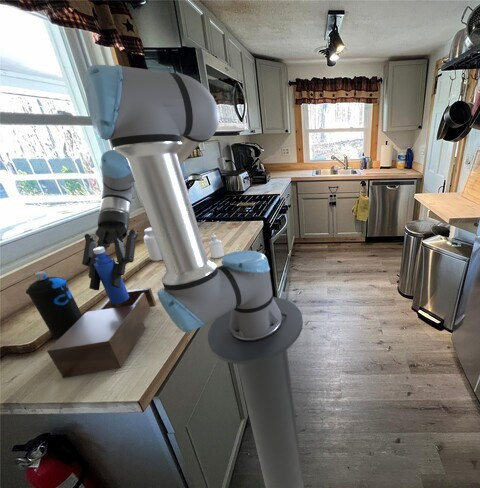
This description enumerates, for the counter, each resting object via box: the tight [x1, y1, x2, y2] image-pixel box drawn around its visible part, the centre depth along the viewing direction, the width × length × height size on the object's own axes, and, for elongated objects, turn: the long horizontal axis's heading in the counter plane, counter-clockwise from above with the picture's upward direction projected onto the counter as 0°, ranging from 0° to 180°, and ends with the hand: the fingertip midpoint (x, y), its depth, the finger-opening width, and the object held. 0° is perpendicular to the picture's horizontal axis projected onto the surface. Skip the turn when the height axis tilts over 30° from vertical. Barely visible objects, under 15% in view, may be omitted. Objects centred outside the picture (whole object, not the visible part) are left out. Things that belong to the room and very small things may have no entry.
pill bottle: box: [143, 226, 163, 262], centre depth 123 cm, size 8×8×15 cm
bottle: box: [93, 246, 129, 304], centre depth 75 cm, size 5×5×17 cm
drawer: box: [97, 287, 157, 322], centre depth 82 cm, size 18×12×7 cm, turn 12°
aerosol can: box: [25, 270, 83, 339], centre depth 76 cm, size 8×8×20 cm
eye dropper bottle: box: [208, 232, 225, 259], centre depth 122 cm, size 4×6×12 cm
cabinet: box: [46, 305, 146, 379], centre depth 69 cm, size 15×13×9 cm
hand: (105, 287), depth 72 cm, fingers closed on bottle, 5 cm apart
